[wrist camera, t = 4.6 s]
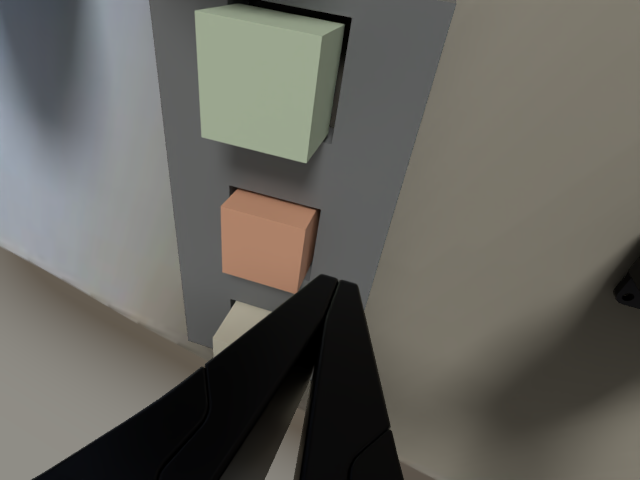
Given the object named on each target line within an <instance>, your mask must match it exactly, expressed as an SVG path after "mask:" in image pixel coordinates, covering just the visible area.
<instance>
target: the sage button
mask: <svg viewBox="0 0 640 480" xmlns="http://www.w3.org/2000/svg"><path fill="white" fill-rule="evenodd" d="M195 28H196V46H197V64H198V83H199V101H200V119H201V137H203V138H207V139H211V140H215V141H219V142H223V143H227V144H231V145H235V146H239V147H243V148H247V149H251V150H255V151H259V152H263V153H267V154H271V155H275V156H279V157H283V158H287V159H291V160H295V161H299V162H303V163H307V162H308V161H309V159H310V158H311V157H312V155H313V154H314V152H315V151H316V150H317V148H318V147H319V146H320V144H321V143H322V142H323V140H324V139H325V137H326V136H327V135H328V133H329V126H330V120H331V113H332V107H333V100H334V94H335V87H336V81H337V74H338V68H339V61H340V55H341V48H342V42H343V35H344V29H345V24H342V23H337V22H332V21H327V20H322V19H317V18H312V17H306V16H301V15H296V14H291V13H286V12H281V11H276V10H271V9H266V8H260V7H255V6H250V5H245V4H240V3H238V4H232V5H225V6H219V7H213V8H207V9H201V10H195Z"/></svg>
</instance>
